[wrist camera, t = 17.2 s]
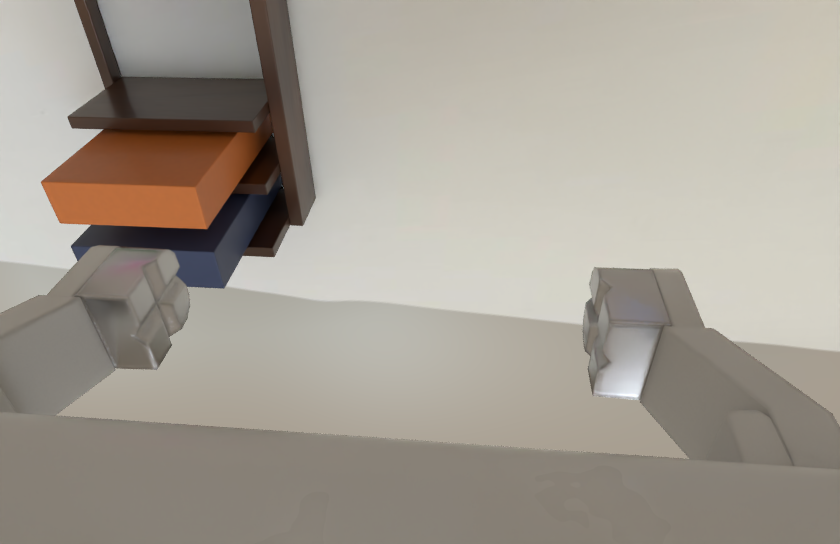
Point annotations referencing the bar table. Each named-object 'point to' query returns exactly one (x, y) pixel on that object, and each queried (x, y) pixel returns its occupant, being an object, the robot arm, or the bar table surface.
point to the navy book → (194, 239)
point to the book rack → (219, 114)
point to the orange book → (153, 177)
